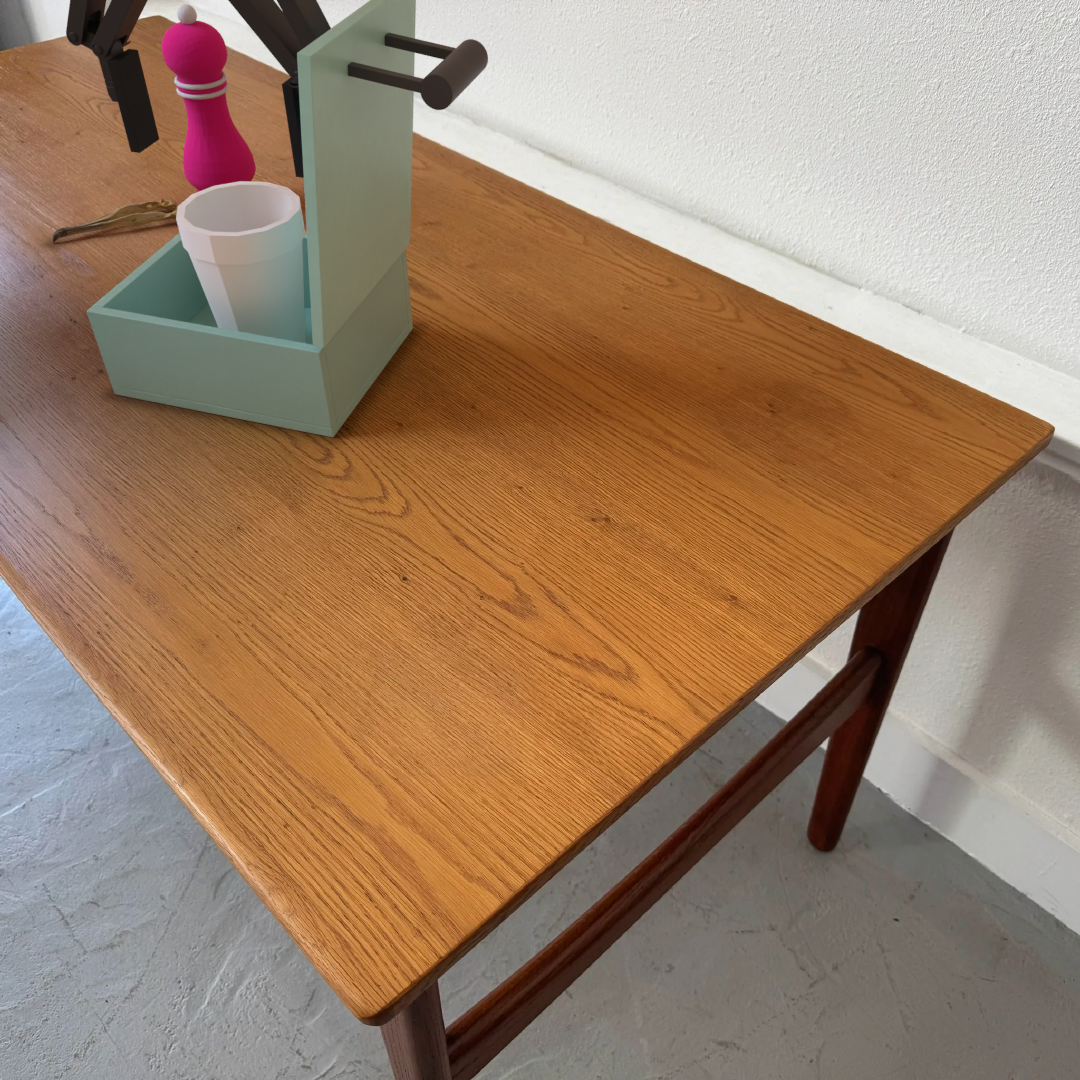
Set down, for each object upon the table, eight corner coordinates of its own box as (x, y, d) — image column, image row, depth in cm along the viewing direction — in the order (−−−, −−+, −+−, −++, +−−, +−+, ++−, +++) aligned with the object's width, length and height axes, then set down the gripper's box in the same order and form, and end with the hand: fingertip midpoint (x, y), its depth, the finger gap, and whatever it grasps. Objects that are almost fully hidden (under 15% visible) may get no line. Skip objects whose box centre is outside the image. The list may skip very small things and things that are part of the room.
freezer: (114, 394, 85) (85, 310, 80) (217, 295, 97) (198, 215, 91) (333, 438, 81) (319, 352, 76) (413, 328, 93) (405, 247, 87)
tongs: (49, 238, 105) (43, 219, 103) (174, 211, 111) (170, 193, 109) (61, 255, 102) (56, 236, 101) (188, 226, 108) (184, 207, 107)
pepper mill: (245, 186, 114) (205, -12, 100) (274, 210, 110) (237, 7, 96) (182, 203, 111) (133, 1, 97) (210, 229, 106) (162, 22, 93)
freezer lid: (296, 52, 61) (425, 83, 60) (404, -26, 72) (513, -1, 71) (312, 345, 75) (416, 374, 74) (400, 240, 87) (491, 264, 86)
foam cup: (333, 323, 92) (311, 182, 83) (312, 383, 85) (286, 237, 76) (227, 321, 92) (194, 180, 83) (198, 380, 85) (159, 234, 76)
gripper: (373, -185, 62) (400, 159, 77) (19, -210, 67) (108, 117, 82) (318, -162, 57) (359, 202, 72) (-61, -192, 62) (50, 155, 77)
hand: (225, 158), depth 77 cm, fingers open, 13 cm apart
